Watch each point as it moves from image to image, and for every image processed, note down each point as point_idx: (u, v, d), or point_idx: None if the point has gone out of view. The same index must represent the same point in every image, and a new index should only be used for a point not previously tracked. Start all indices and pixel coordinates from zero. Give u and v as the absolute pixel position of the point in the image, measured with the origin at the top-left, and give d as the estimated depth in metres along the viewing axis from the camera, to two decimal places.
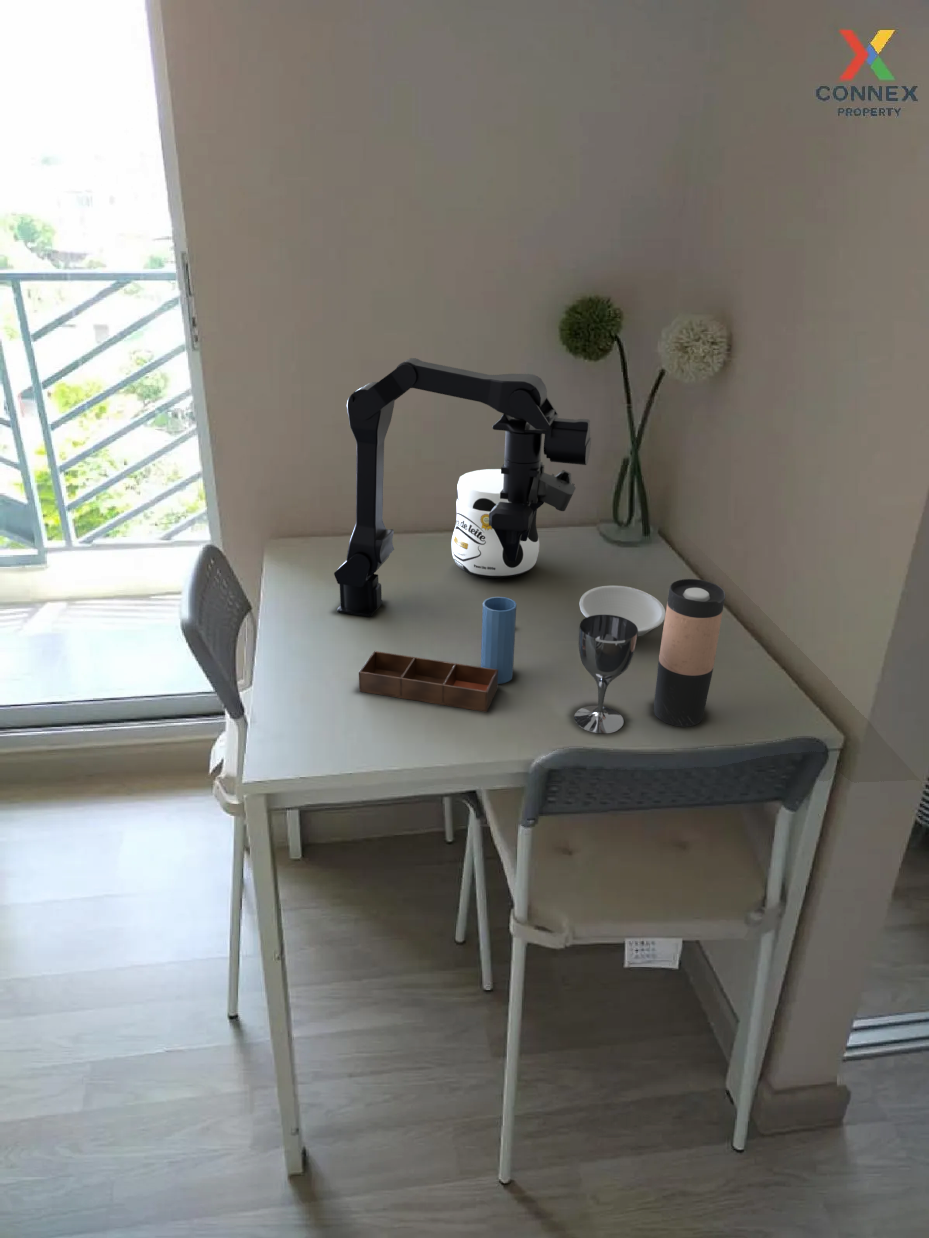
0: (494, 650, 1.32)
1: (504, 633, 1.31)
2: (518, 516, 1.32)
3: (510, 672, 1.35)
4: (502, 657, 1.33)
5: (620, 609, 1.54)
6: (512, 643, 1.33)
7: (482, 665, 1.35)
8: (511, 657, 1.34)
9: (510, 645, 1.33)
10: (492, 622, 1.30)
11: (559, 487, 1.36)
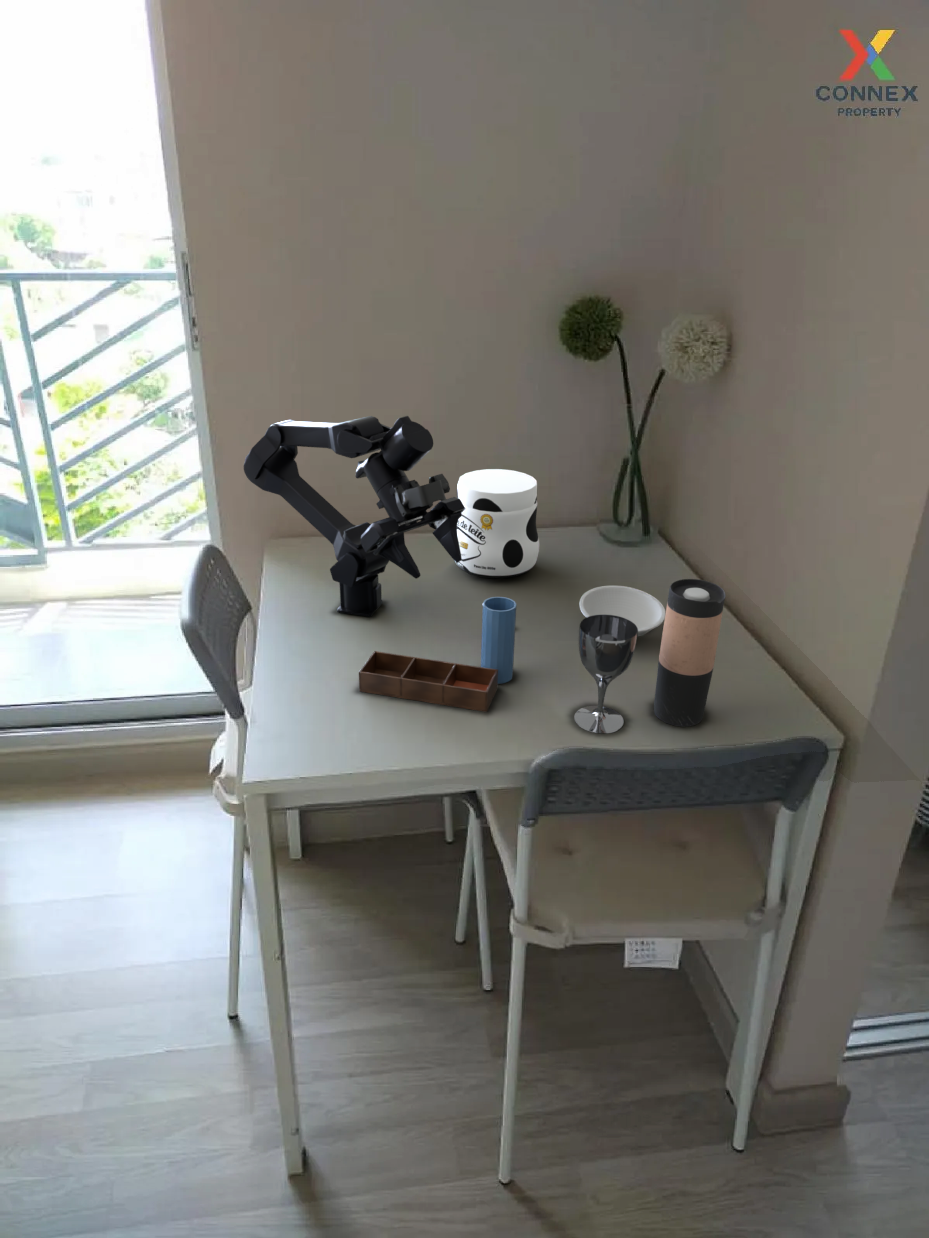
0: (494, 650, 1.32)
1: (504, 633, 1.31)
2: (371, 528, 1.34)
3: (510, 672, 1.35)
4: (502, 657, 1.33)
5: (620, 609, 1.54)
6: (512, 643, 1.33)
7: (482, 665, 1.35)
8: (511, 657, 1.34)
9: (510, 645, 1.33)
10: (492, 622, 1.30)
11: None
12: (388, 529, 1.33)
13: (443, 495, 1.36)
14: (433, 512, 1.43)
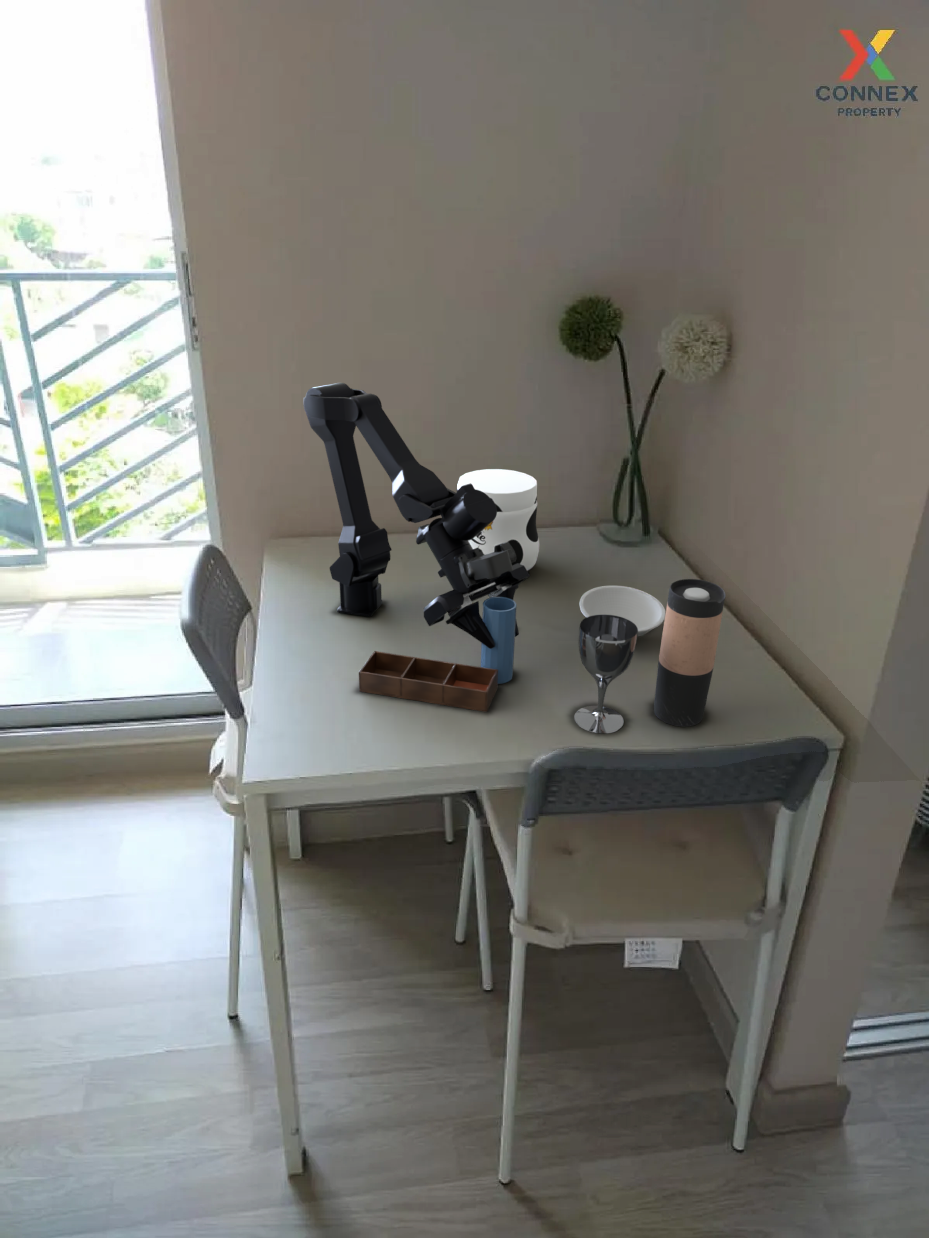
0: (494, 650, 1.32)
1: (504, 633, 1.31)
2: (436, 602, 1.27)
3: (510, 672, 1.35)
4: (502, 657, 1.33)
5: (620, 609, 1.54)
6: (512, 643, 1.33)
7: (482, 665, 1.35)
8: (511, 657, 1.34)
9: (510, 645, 1.33)
10: (492, 622, 1.30)
11: (482, 558, 1.29)
12: (454, 603, 1.27)
13: (510, 566, 1.29)
14: (496, 580, 1.37)
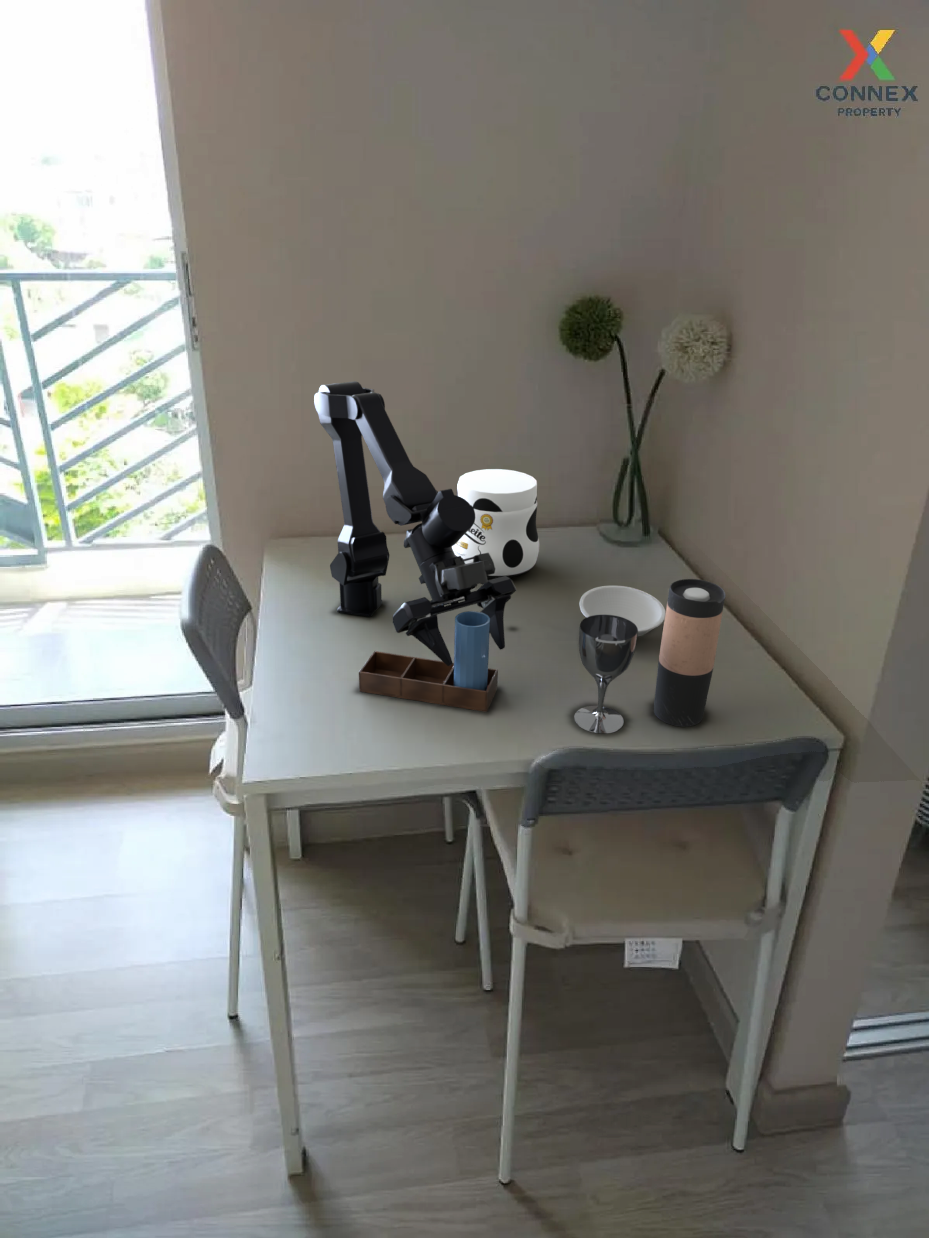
0: (463, 666, 1.26)
1: (473, 650, 1.25)
2: (401, 609, 1.23)
3: None
4: (472, 674, 1.27)
5: (620, 609, 1.54)
6: (483, 661, 1.26)
7: (454, 680, 1.29)
8: (483, 676, 1.28)
9: (481, 663, 1.26)
10: (461, 637, 1.24)
11: (455, 567, 1.23)
12: (419, 611, 1.22)
13: (484, 578, 1.23)
14: (479, 592, 1.30)
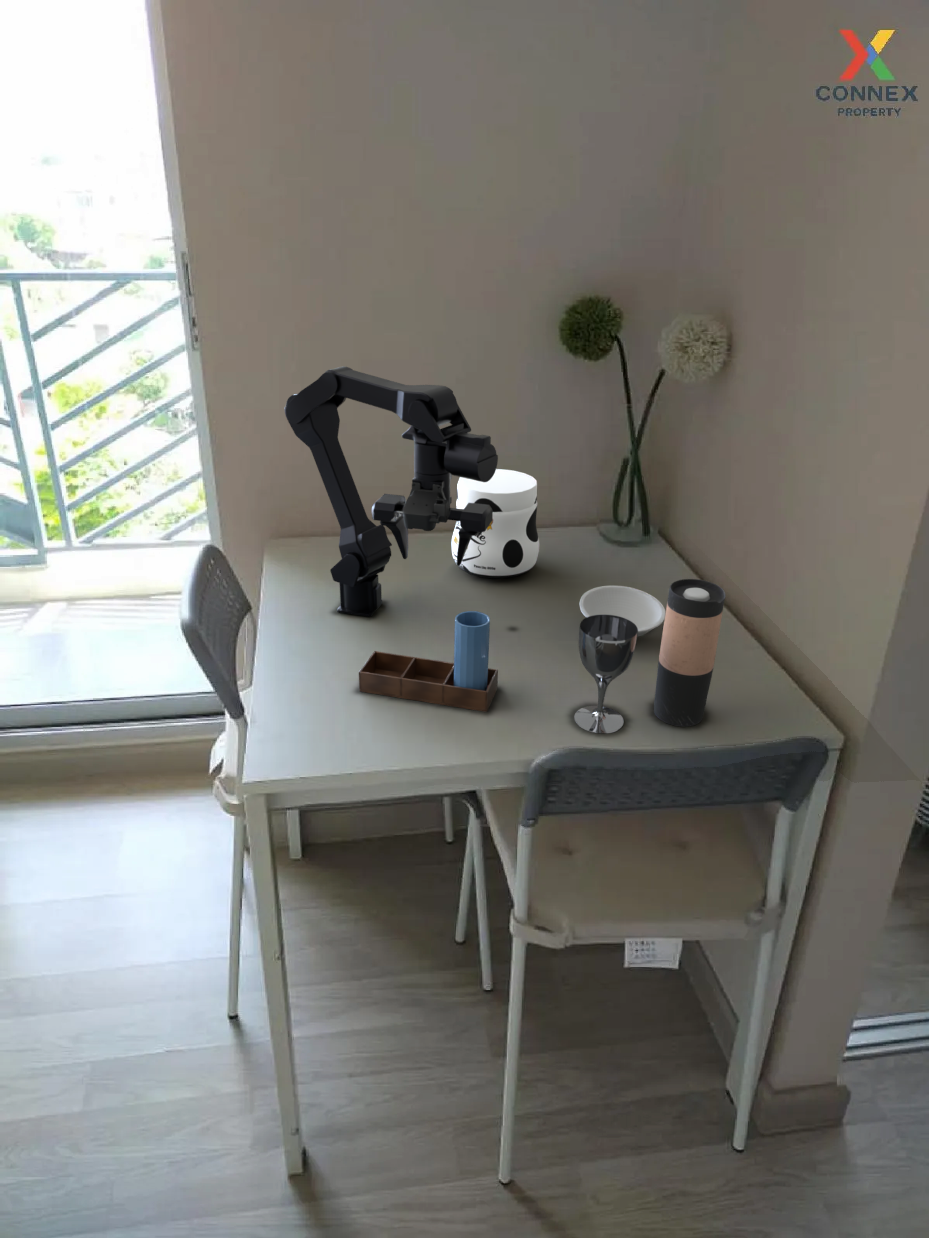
0: (463, 666, 1.26)
1: (473, 650, 1.25)
2: None
3: None
4: (472, 674, 1.27)
5: (620, 609, 1.54)
6: (483, 661, 1.26)
7: (454, 680, 1.29)
8: (483, 676, 1.28)
9: (481, 663, 1.26)
10: (461, 637, 1.24)
11: (411, 504, 1.33)
12: (380, 517, 1.39)
13: (427, 527, 1.33)
14: (458, 513, 1.38)
